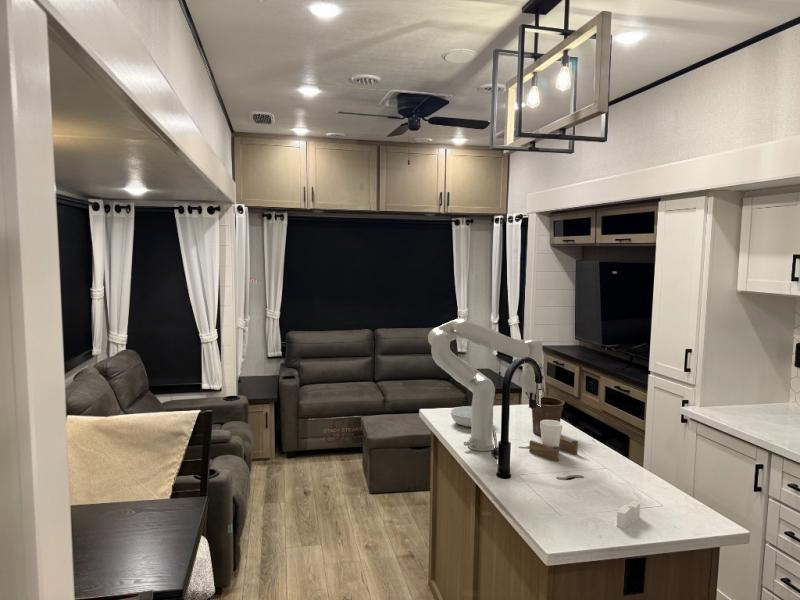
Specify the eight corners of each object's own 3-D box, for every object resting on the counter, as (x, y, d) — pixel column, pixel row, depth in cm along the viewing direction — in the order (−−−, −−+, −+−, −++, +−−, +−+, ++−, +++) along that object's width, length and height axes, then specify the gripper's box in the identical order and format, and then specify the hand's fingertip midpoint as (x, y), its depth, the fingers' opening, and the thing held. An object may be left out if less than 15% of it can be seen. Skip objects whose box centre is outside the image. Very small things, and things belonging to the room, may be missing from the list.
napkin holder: (619, 534, 163) (620, 516, 162) (598, 517, 174) (599, 500, 174) (663, 530, 166) (664, 512, 165) (639, 513, 177) (640, 496, 177)
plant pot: (567, 439, 252) (568, 405, 250) (533, 438, 252) (534, 404, 251) (558, 428, 268) (559, 397, 267) (525, 428, 268) (526, 396, 267)
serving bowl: (445, 420, 281) (445, 407, 280) (482, 417, 286) (482, 405, 285) (458, 432, 261) (458, 418, 260) (498, 429, 266) (498, 415, 265)
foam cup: (536, 448, 238) (537, 420, 237) (556, 448, 239) (557, 419, 238) (544, 456, 228) (545, 426, 227) (565, 455, 229) (565, 425, 228)
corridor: (556, 461, 222) (556, 447, 222) (529, 452, 233) (529, 439, 233) (577, 453, 231) (578, 440, 231) (550, 445, 242) (550, 432, 242)
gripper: (552, 369, 236) (551, 409, 237) (525, 364, 248) (524, 403, 249) (541, 371, 231) (541, 412, 232) (514, 365, 243) (514, 405, 244)
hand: (532, 407), depth 241 cm, fingers closed
